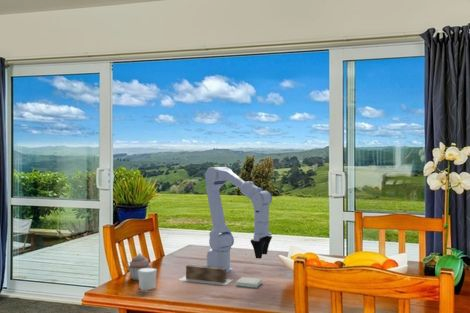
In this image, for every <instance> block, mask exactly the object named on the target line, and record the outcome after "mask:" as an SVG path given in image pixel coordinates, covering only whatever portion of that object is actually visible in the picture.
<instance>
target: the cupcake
mask: <svg viewBox="0 0 470 313" xmlns="http://www.w3.org/2000/svg"><path fill="white" fill-rule="evenodd" d="M127 266H128V267H127V269H128V270H129V273H130V278H131V280H133V281H139V277H138V270H139V269H141V268H152V264H150V263H149V259H148V258H147V257H146V256H144V255H143V254H141V253H138V254H137V255H136V256H135V257H132V259H131V261H130V262H129V265H127Z"/></svg>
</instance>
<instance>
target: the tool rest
mask: <svg viewBox="0 0 470 313" xmlns="http://www.w3.org/2000/svg"><path fill="white" fill-rule="evenodd" d="M178 281H181V282H182V281H184V282H194V283H202V284H211V285H219V286H220V285H221V286H227V285H228V284H230V283H231V282H232V281H233V279H230V278H226V282H224V283H222V282H212V281H203V280H194V279H186V275H184V276H182V277H181V278H179V279H178Z"/></svg>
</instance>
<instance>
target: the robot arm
mask: <svg viewBox="0 0 470 313" xmlns="http://www.w3.org/2000/svg"><path fill="white" fill-rule="evenodd" d="M204 178H205V179H204V180H205V190H206V196H207V200H208V206H209V207H208V208H209V212H210V218H211V219H210V220H211V222H212V223H211V224H212V229H211V230H210V232H209V234H208V236H209V241H208V243H209V244H208V245H209V247H210V249H208V251H207V253H206V266H208V267H218V268H226V274H227V273H229V272H230V271H232V270H234V268H233V267H231V249H232V246H233V245H234V243H235V238H234V236H233V234H232V231H231V228H229V227H228V226H227V225H226V224H227V223H226V219H225V214H224V208H223V205H222V204H223V203H222V198H221V193H220V192H221V191H220V189H221V187H223V185H224V184H227V182H228V183H230V184H232V185H233V186H235V187H237V188H238V189H239V190H240V193H241V194H242V195H243V196H245V197H247V198H248V199H249V200H251V203H252V205H253V210H254V214H253V216H254V221H253V222H254V226H253V227H254V230H253V238H252V239H250V243H251V246H252V247H253V251H254V256H255V259H262V258H263V255H268V250H269V248H270V247H269V246H270V243H271V241H272V239H273V236H272V235H273V234H272V232H270V204H271V203H272V201H273V195H272V194H271V192H269V190H263V189H262V188H261V187H259V186H256V185H255V184H254V181H252V180H251V181H249V180H248V181H246V180H243V179H242V178H241V177H239V175H238V174H235V172H233V169H232V168H229V167H228V166H215V167H213V166H209V167H208V168H207V169H206V171H205V173H204Z"/></svg>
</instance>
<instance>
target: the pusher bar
mask: <svg viewBox="0 0 470 313" xmlns="http://www.w3.org/2000/svg"><path fill="white" fill-rule="evenodd" d="M185 276H186V279H194V280H203V281H212V282H222V283H224V282H226V279H227V273H226V268H218V267H208V266H207V265H205V266H204V265H195V264H187V265H186V266H185Z"/></svg>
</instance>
